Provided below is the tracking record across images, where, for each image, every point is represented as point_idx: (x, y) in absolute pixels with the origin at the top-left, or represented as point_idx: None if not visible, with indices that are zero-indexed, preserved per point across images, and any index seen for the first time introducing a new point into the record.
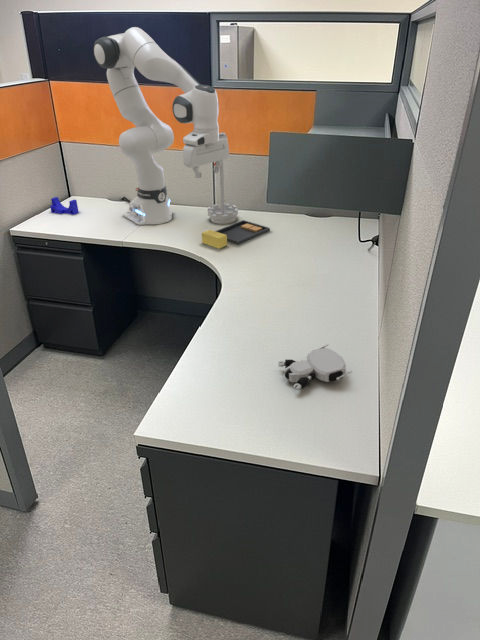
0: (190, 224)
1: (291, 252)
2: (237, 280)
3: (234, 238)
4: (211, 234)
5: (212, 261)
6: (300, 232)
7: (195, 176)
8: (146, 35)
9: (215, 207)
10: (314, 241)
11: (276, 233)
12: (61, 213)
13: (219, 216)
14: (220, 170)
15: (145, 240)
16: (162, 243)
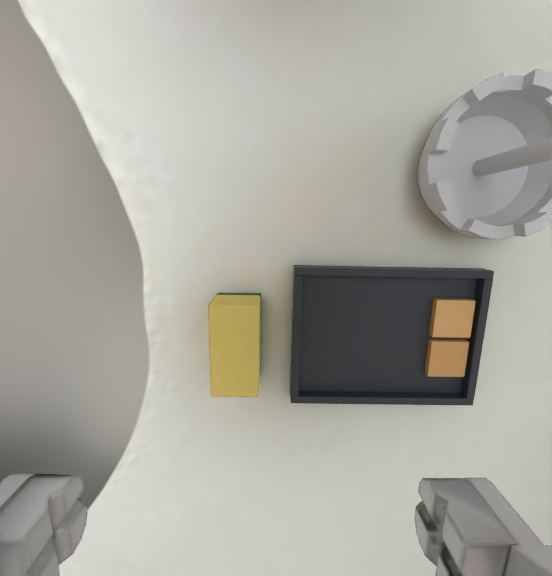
0: (351, 82)
1: (354, 535)
2: (108, 535)
3: (328, 351)
4: (221, 349)
5: (145, 411)
6: (515, 471)
7: (4, 483)
8: None
9: (529, 90)
10: None
11: (464, 419)
12: None
13: (434, 200)
14: None
15: (89, 68)
16: (121, 157)
